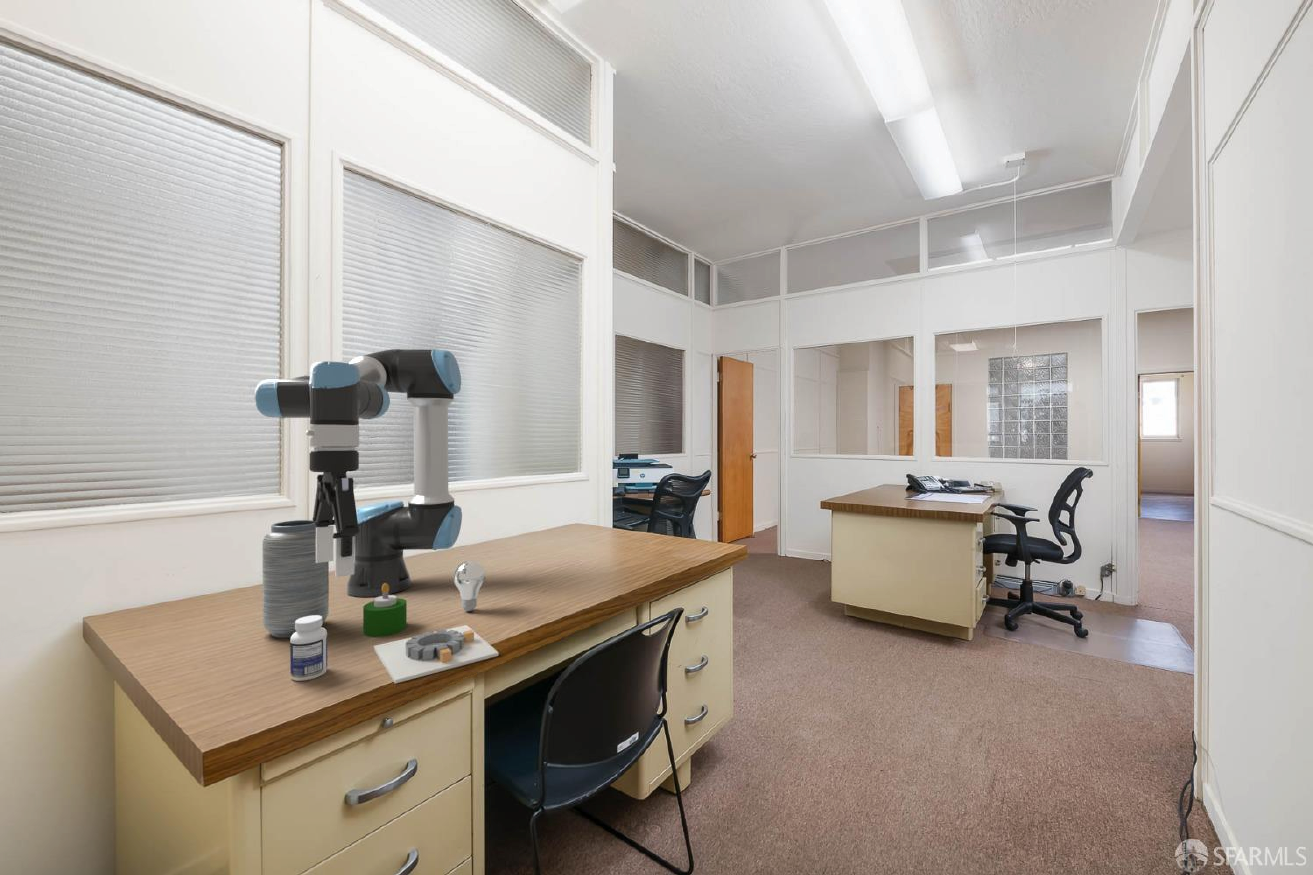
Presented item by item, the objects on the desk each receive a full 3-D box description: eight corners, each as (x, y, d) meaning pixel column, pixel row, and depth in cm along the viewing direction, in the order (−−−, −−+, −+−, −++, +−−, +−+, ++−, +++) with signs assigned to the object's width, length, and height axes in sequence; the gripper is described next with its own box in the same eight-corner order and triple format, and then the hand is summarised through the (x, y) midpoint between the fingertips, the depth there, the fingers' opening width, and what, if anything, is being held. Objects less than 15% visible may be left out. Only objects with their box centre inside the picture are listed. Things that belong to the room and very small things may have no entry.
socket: (373, 648, 102) (373, 636, 102) (466, 627, 113) (466, 616, 113) (395, 683, 88) (395, 669, 88) (498, 655, 99) (498, 642, 99)
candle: (415, 624, 115) (415, 579, 115) (387, 638, 107) (387, 590, 107) (383, 621, 117) (383, 576, 117) (353, 634, 109) (353, 587, 109)
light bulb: (474, 617, 119) (474, 565, 119) (447, 615, 121) (447, 563, 121) (490, 607, 126) (490, 558, 126) (464, 605, 128) (464, 556, 127)
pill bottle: (302, 667, 94) (302, 613, 94) (333, 666, 94) (333, 613, 94) (283, 682, 88) (283, 624, 88) (316, 681, 89) (316, 624, 89)
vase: (337, 618, 118) (337, 518, 118) (313, 638, 107) (313, 527, 106) (281, 621, 116) (281, 519, 116) (250, 642, 105) (249, 528, 105)
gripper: (294, 448, 99) (294, 559, 99) (328, 450, 81) (327, 586, 81) (339, 447, 104) (339, 553, 104) (380, 450, 87) (379, 577, 87)
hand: (334, 568), depth 93 cm, fingers open, 13 cm apart
